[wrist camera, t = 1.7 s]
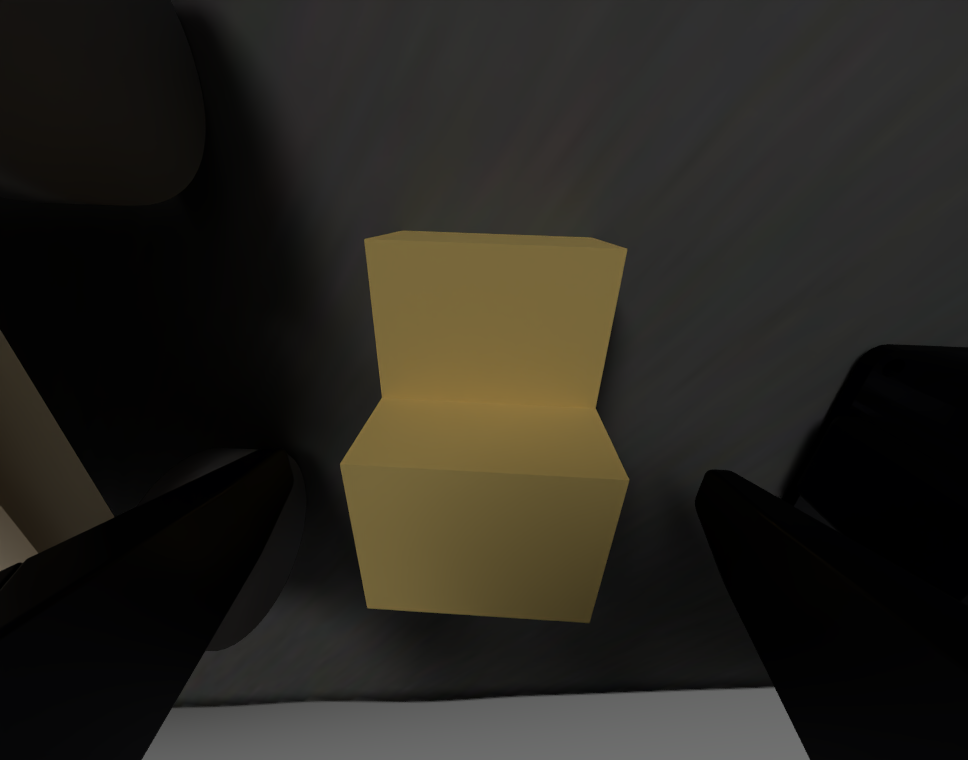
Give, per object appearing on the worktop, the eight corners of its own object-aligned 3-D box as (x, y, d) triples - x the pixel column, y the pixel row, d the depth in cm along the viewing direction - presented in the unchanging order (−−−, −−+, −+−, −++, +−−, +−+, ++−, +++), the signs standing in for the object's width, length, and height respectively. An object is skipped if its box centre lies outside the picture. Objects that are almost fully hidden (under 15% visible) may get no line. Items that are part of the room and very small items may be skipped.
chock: (590, 237, 9) (688, 268, 4) (555, 463, 12) (589, 623, 7) (404, 230, 9) (299, 253, 4) (418, 456, 12) (367, 608, 7)
